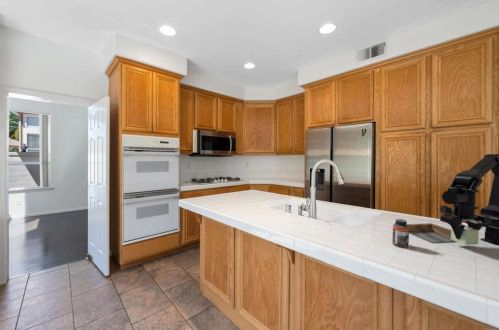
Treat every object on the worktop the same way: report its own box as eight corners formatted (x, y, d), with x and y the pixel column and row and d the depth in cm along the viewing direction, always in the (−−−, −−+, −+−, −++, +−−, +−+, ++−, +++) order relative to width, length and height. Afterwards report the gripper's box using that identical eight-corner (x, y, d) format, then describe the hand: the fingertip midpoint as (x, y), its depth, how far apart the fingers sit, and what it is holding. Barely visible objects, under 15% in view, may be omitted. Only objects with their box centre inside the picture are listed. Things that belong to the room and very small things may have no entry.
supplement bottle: (393, 241, 101) (393, 217, 100) (409, 245, 97) (410, 219, 97) (391, 245, 96) (392, 220, 96) (407, 249, 93) (409, 223, 92)
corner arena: (430, 230, 116) (430, 223, 115) (460, 241, 101) (460, 233, 101) (405, 231, 114) (405, 224, 114) (432, 243, 99) (432, 234, 99)
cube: (462, 238, 98) (463, 225, 98) (478, 244, 92) (478, 229, 92) (450, 239, 98) (451, 225, 97) (465, 244, 92) (466, 230, 91)
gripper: (464, 198, 103) (462, 231, 104) (429, 199, 101) (427, 232, 102) (493, 204, 92) (491, 240, 93) (454, 205, 90) (452, 242, 91)
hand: (464, 238), depth 95 cm, fingers closed on cube, 6 cm apart
